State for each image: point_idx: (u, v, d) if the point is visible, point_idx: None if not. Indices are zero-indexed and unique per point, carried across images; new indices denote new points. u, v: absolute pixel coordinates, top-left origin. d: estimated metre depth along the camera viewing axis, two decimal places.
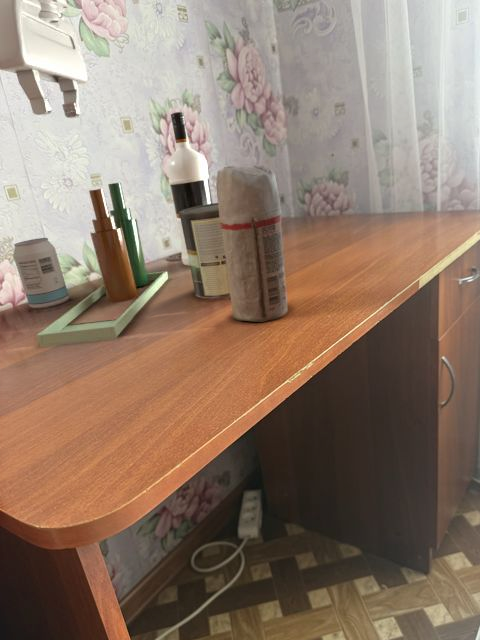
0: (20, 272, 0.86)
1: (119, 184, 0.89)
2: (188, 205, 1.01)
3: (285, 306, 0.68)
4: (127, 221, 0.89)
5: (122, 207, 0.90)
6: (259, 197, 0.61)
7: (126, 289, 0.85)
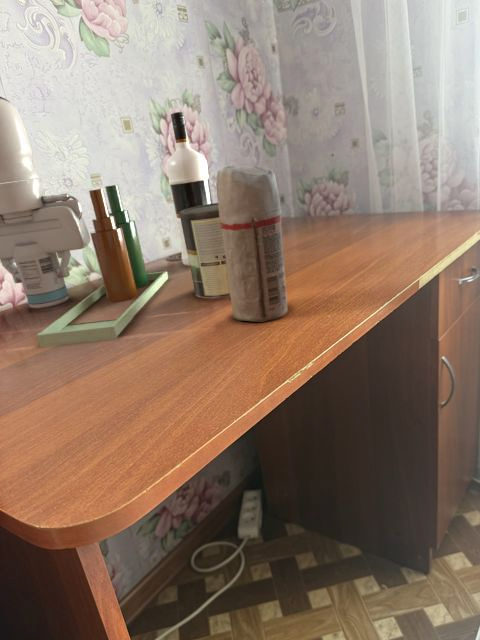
0: (20, 272, 0.86)
1: (116, 186, 0.87)
2: (188, 205, 1.01)
3: (285, 306, 0.68)
4: (126, 224, 0.88)
5: (120, 209, 0.89)
6: (259, 197, 0.61)
7: (126, 289, 0.85)
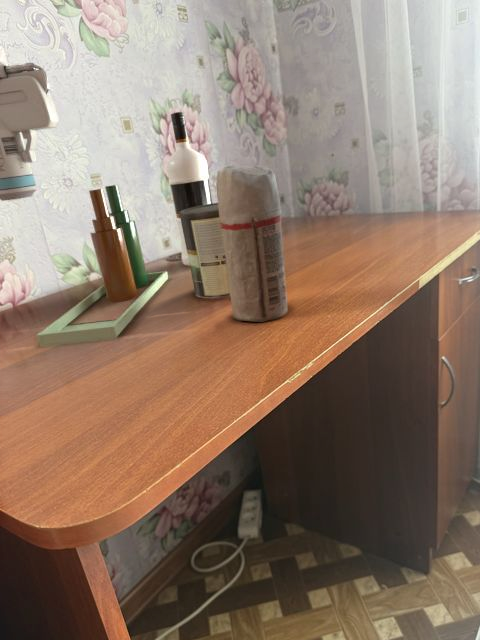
0: None
1: (116, 186, 0.87)
2: (188, 205, 1.01)
3: (285, 306, 0.68)
4: (126, 224, 0.88)
5: (120, 209, 0.89)
6: (259, 197, 0.61)
7: (126, 289, 0.85)
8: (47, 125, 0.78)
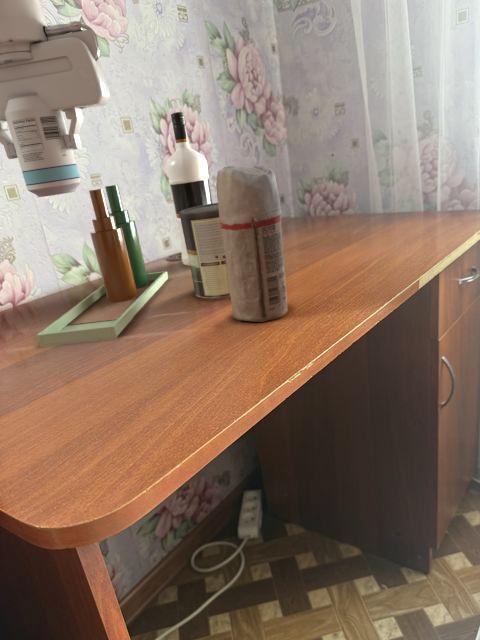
0: (15, 137, 0.63)
1: (116, 186, 0.87)
2: (188, 205, 1.01)
3: (285, 306, 0.68)
4: (126, 224, 0.88)
5: (120, 209, 0.89)
6: (259, 197, 0.61)
7: (126, 289, 0.85)
8: (97, 101, 0.62)
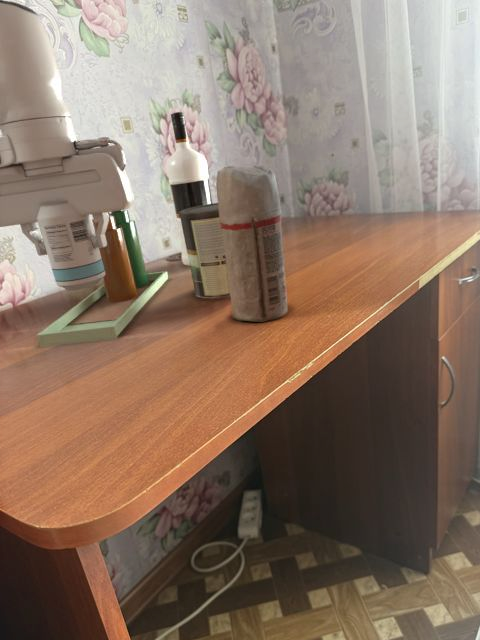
0: (46, 239, 0.67)
1: None
2: (188, 205, 1.01)
3: (285, 306, 0.68)
4: (126, 224, 0.88)
5: None
6: (259, 197, 0.61)
7: (126, 289, 0.85)
8: (123, 208, 0.66)
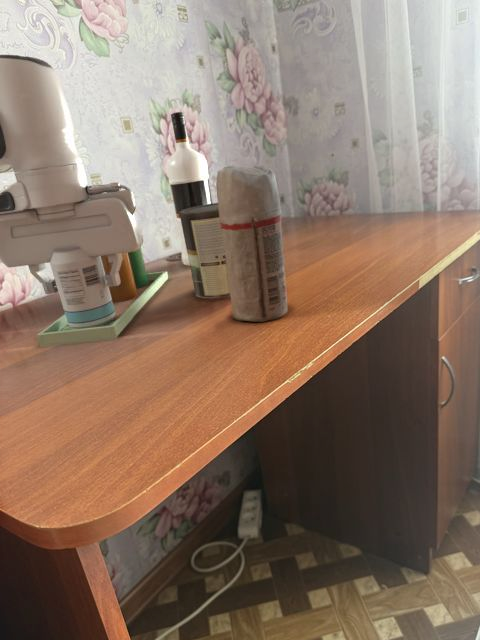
0: (59, 284, 0.70)
1: None
2: (188, 205, 1.01)
3: (285, 306, 0.68)
4: None
5: None
6: (259, 197, 0.61)
7: (126, 289, 0.85)
8: (133, 250, 0.68)
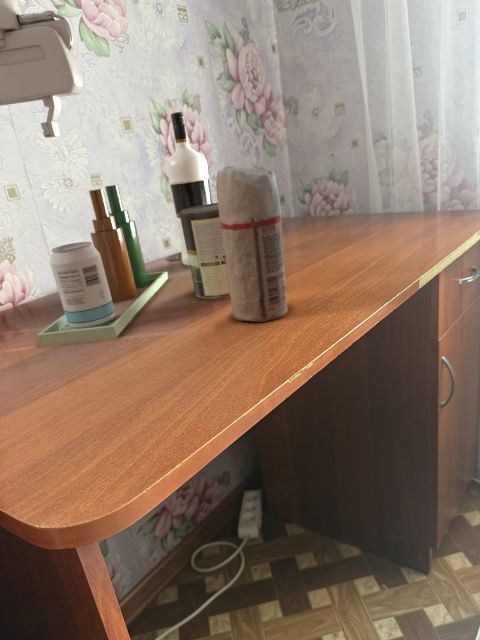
0: (59, 284, 0.70)
1: (116, 186, 0.87)
2: (188, 205, 1.01)
3: (285, 306, 0.68)
4: (126, 224, 0.88)
5: (120, 209, 0.89)
6: (259, 197, 0.61)
7: (126, 289, 0.85)
8: (70, 90, 0.63)
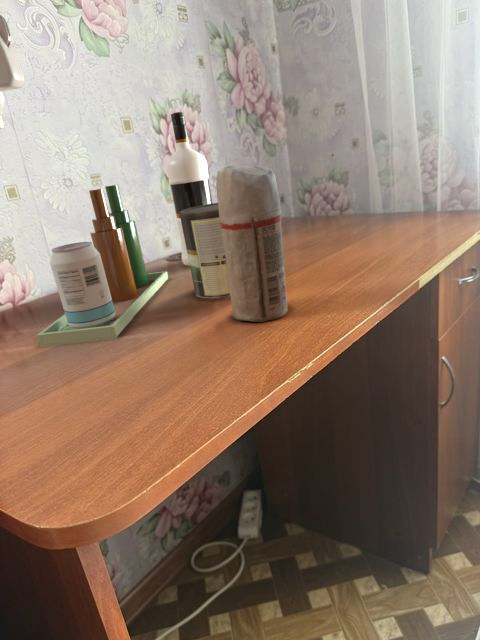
0: (59, 284, 0.70)
1: (116, 186, 0.87)
2: (188, 205, 1.01)
3: (285, 306, 0.68)
4: (126, 224, 0.88)
5: (120, 209, 0.89)
6: (259, 197, 0.61)
7: (126, 289, 0.85)
8: (10, 83, 0.67)
